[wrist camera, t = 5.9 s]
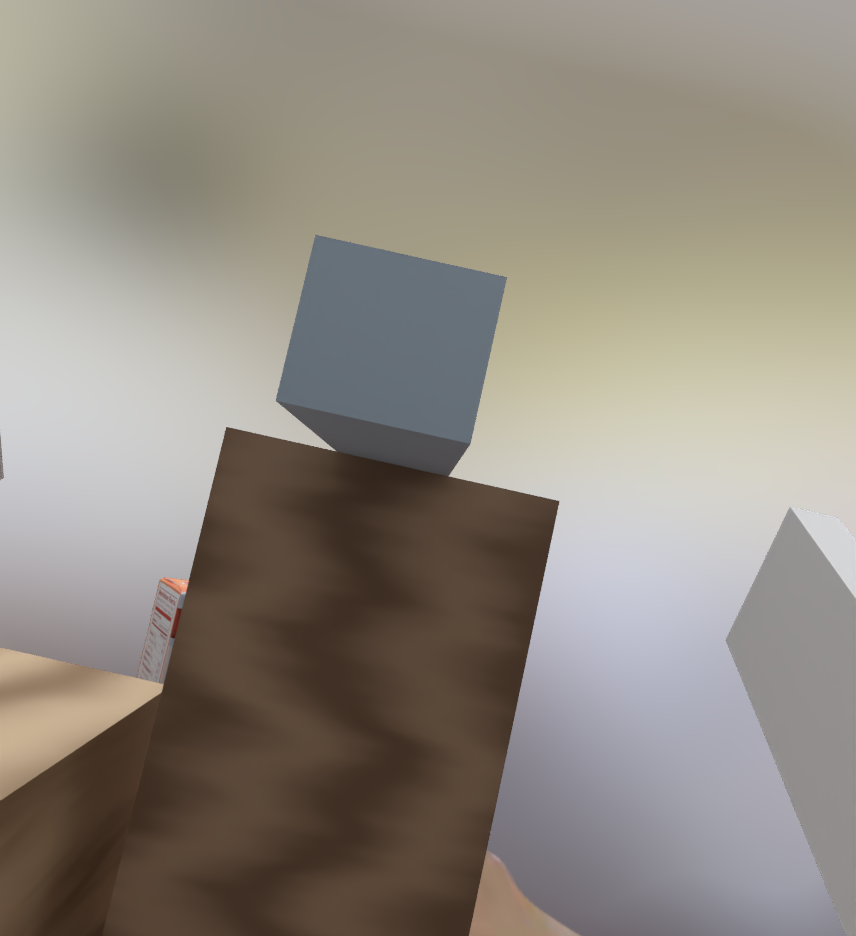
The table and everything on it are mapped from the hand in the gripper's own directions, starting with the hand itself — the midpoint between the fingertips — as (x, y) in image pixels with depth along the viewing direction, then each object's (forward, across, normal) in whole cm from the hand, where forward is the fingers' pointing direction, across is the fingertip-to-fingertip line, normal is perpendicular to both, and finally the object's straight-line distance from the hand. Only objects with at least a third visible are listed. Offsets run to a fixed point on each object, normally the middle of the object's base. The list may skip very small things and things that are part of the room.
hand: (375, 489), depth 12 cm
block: (+15, -1, -7) cm, 17 cm away
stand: (+2, -1, -34) cm, 35 cm away
